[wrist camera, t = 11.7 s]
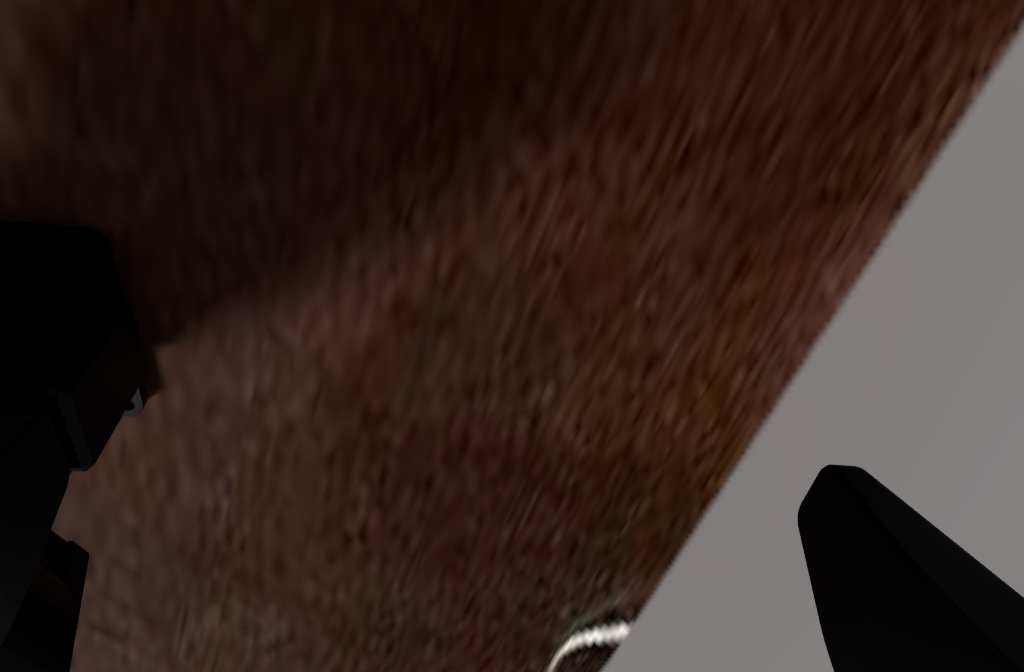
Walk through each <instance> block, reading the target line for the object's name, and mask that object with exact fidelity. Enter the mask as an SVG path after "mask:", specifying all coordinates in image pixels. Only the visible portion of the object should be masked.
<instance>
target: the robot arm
mask: <svg viewBox="0 0 1024 672" xmlns="http://www.w3.org/2000/svg"><path fill="white" fill-rule="evenodd" d="M81 243H85V244H89V245H90V246H91V247H93V249H94V250H95V252H94V253H93V252H90V251H87V250H86V249H85V248H84V247H83V246H82V244H81ZM146 374H147V368H146V364H145V360H144V355H143V351H142V347H141V342H140V338H139V334H138V330H137V325H136V321H135V317H134V313H133V309H132V307H131V306H130V305H129V303H128V302H127V301H126V300H124V298H123V294H122V290H121V285H120V281H119V277H118V273H117V269H116V265H115V260H114V256H113V252H112V248H111V245H110V243H109V241H108V239H107V238H106V237H105V236H104V235H103V234H102V233H100V232H98V231H97V230H94V229H90V228H83V227H70V226H57V225H44V224H31V223H18V222H5V221H0V672H69V671H70V665H71V659H72V654H73V648H74V642H75V636H76V630H77V624H78V618H79V613H80V607H81V601H82V595H83V589H84V583H85V577H86V572H87V566H88V560H89V553H88V552H87V551H86V550H84V549H83V548H82V547H80V546H79V545H78V544H76V543H75V542H74V541H68V542H67V541H65V540H64V539H63V538H61V537H60V536H59V535H57V534H56V533H55V532H53V531H52V530H51V527H52V525H53V522H54V520H55V517H56V514H57V512H58V509H59V507H60V504H61V501H62V499H63V496H64V494H65V491H66V488H67V485H68V480H69V476H70V474H71V472H72V471H87V470H88V469H89V468H90V467H91V466H93V465H94V464H95V463H96V461H97V459H98V458H99V456H100V454H101V452H102V451H103V449H104V447H105V445H106V444H107V442H108V440H109V438H110V437H111V435H112V433H113V431H114V430H115V428H116V426H117V424H118V423H119V421H120V419H121V417H122V416H136V415H138V414H140V413H141V411H142V410H143V408H144V407H145V405H146V403H147V393H146V389H145V385H144V381H143V379H144V377H145V376H146ZM131 401H132V402H131ZM798 527H799V532H800V536H801V541H802V545H803V549H804V554H805V559H806V563H807V568H808V572H809V576H810V581H811V585H812V590H813V594H814V599H815V603H816V608H817V612H818V616H819V621H820V625H821V629H822V633H823V636H824V641H825V644H826V647H827V651H828V654H829V657H830V660H831V663H832V667H833V669H834V672H1024V598H1023V597H1022V596H1021V595H1020V594H1018V593H1017V592H1016V591H1015V590H1013V589H1012V588H1011V587H1010V586H1009V585H1007V584H1006V583H1005V582H1004V581H1002V580H1001V579H1000V578H999V577H997V576H996V575H995V574H994V573H992V572H991V571H989V569H987V568H986V567H985V566H984V565H982V564H981V563H980V562H979V561H977V560H976V559H975V558H974V557H972V556H971V555H970V554H969V553H967V552H966V551H965V550H964V549H962V548H961V547H960V546H959V545H957V544H956V543H955V542H954V541H953V540H951V539H950V538H949V537H948V536H946V535H945V534H944V533H942V532H941V531H940V530H939V529H938V528H936V527H935V526H934V525H933V524H931V523H930V522H929V521H928V520H926V519H925V518H924V517H922V516H921V515H920V514H919V513H917V512H916V511H915V510H914V509H913V508H911V507H910V506H909V505H908V504H906V503H905V502H904V501H903V500H901V499H900V498H899V497H898V496H896V495H895V494H894V493H893V492H891V491H890V490H889V489H888V488H886V487H885V486H884V485H883V484H882V483H880V482H879V481H878V480H877V479H875V478H874V477H873V476H871V475H870V474H869V473H868V472H866V471H865V470H864V469H862V468H860V467H856V466H844V465H827V466H826V467H824V468H823V469H821V471H820V472H819V474H818V475H817V477H816V479H815V481H814V482H813V484H812V486H811V488H810V489H809V491H808V493H807V494H806V496H805V498H804V500H803V501H802V503H801V506H800V508H799V511H798Z"/></svg>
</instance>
